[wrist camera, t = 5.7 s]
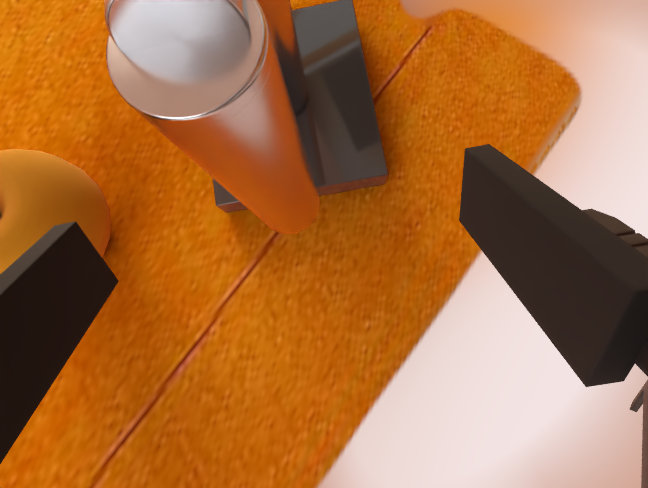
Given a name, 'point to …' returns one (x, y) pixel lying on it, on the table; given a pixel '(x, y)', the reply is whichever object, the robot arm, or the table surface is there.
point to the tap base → (333, 105)
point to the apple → (46, 202)
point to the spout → (222, 94)
